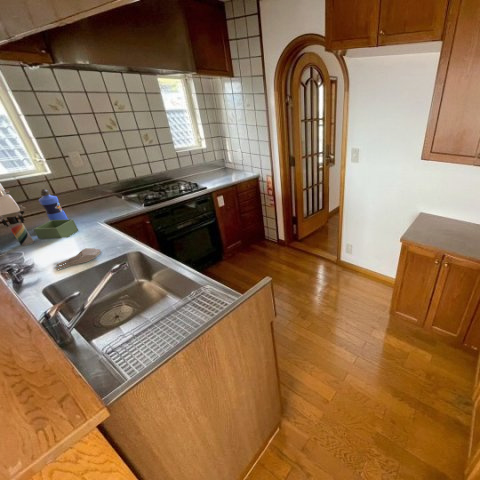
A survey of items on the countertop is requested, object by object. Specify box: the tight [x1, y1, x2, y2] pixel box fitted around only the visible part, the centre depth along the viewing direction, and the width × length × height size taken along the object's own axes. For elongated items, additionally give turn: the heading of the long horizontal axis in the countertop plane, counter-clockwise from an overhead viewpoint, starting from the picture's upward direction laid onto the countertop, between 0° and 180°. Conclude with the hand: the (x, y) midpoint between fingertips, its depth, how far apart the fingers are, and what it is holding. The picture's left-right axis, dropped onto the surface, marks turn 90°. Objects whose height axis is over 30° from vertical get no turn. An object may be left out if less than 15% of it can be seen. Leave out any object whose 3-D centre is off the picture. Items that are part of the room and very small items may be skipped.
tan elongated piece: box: [55, 247, 101, 271], centre depth 142 cm, size 10×20×5 cm, turn 133°
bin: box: [32, 218, 79, 240], centre depth 169 cm, size 14×14×9 cm
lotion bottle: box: [5, 214, 35, 247], centre depth 155 cm, size 6×6×20 cm
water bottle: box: [38, 189, 69, 221], centre depth 183 cm, size 9×9×25 cm
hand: (15, 223), depth 152 cm, fingers closed on lotion bottle, 5 cm apart
